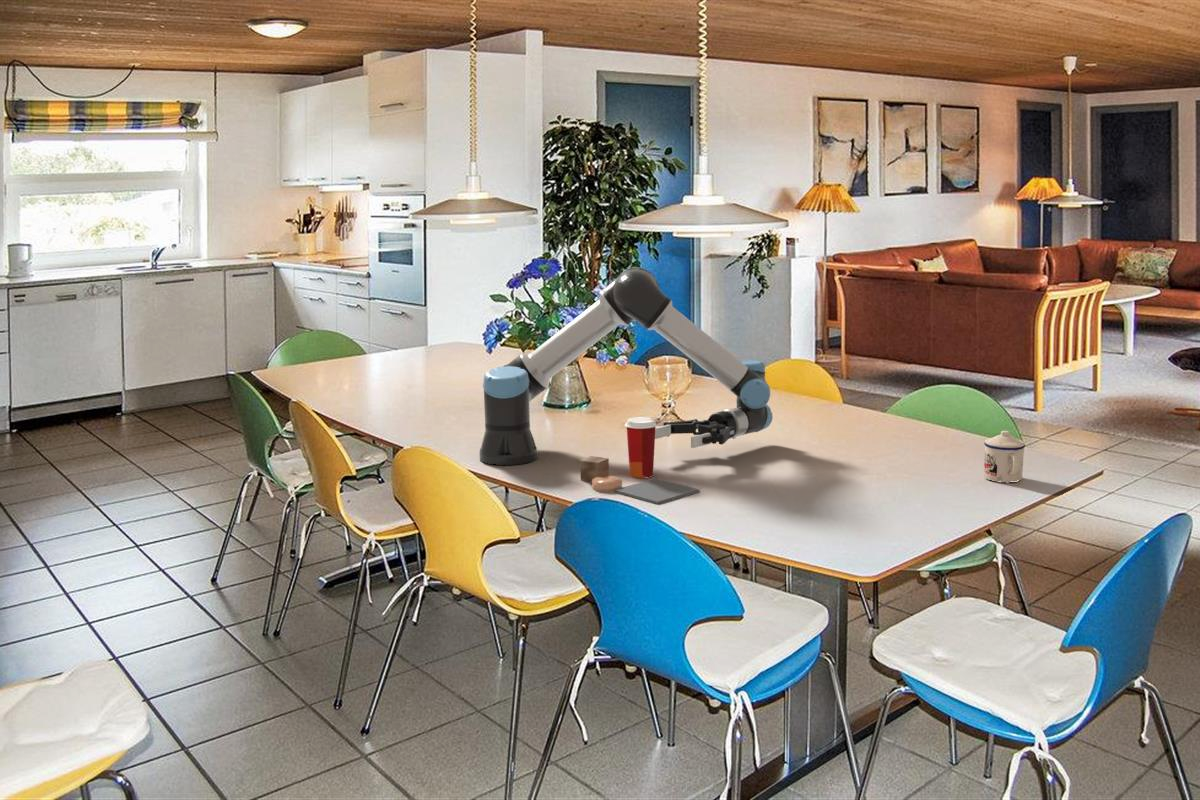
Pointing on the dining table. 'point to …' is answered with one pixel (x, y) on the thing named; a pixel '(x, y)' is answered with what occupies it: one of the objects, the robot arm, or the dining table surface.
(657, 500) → the mat
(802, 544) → the dining table surface
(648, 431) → the paper cup
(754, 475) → the dining table surface
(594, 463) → the walnut block
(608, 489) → the tan rounded disc
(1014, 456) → the teacup with lid
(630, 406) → the dining table surface
